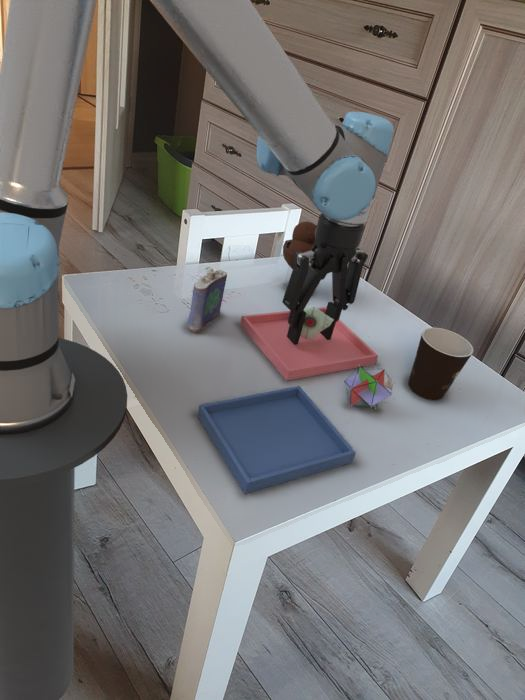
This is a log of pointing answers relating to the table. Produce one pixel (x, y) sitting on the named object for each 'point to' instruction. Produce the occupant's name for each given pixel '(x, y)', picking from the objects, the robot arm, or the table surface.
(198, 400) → the table surface
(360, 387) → the wire icosahedron model
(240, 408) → the blue tray
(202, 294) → the flask
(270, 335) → the rose tray
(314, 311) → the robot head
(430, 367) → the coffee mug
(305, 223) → the ice cream bowl
